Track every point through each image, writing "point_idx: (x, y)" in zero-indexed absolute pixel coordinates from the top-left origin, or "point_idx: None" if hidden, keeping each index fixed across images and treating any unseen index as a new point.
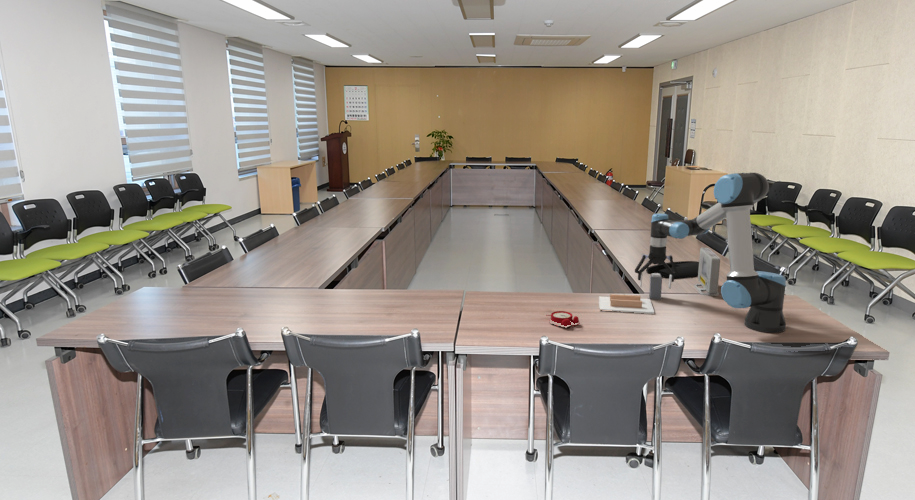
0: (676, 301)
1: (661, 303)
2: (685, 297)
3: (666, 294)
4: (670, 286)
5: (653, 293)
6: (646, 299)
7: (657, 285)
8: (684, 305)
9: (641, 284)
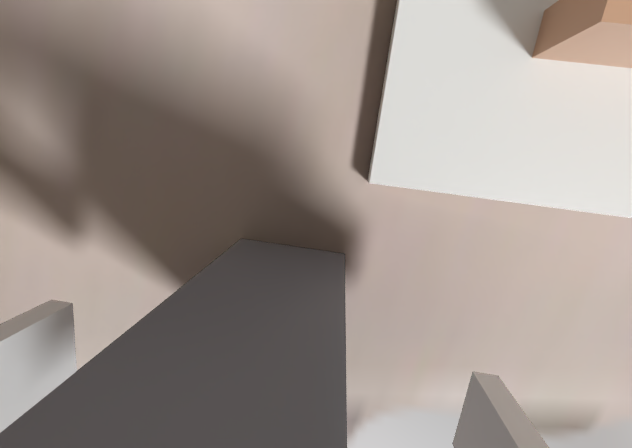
0: (103, 178)
1: (261, 96)
2: (18, 302)
3: None
4: (23, 321)
5: (307, 272)
6: (416, 159)
7: (224, 324)
8: (39, 38)
9: (507, 412)
